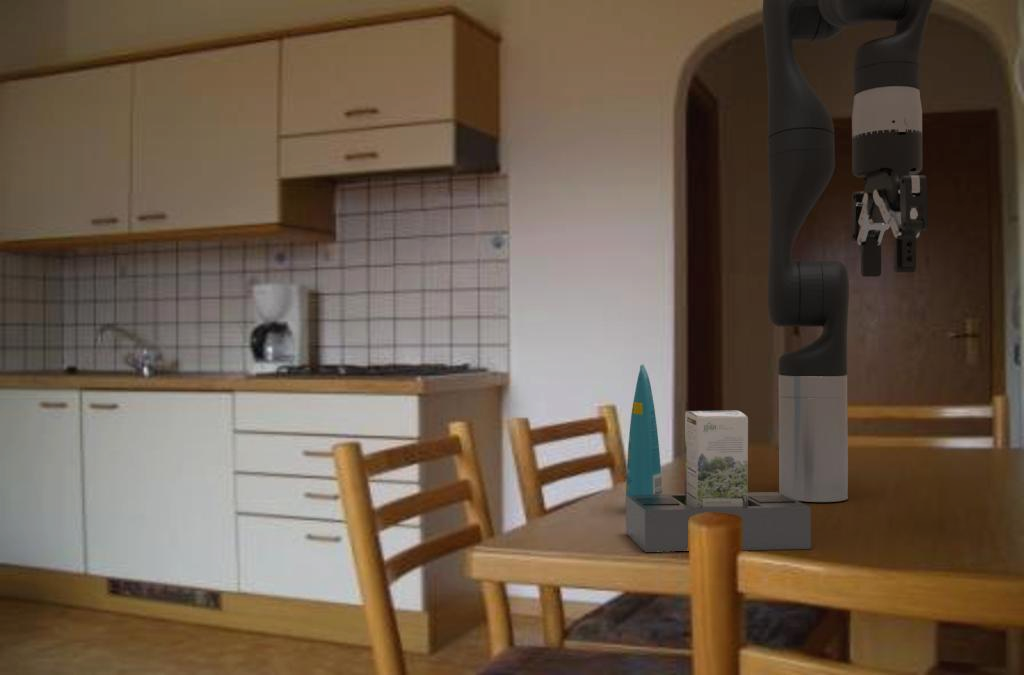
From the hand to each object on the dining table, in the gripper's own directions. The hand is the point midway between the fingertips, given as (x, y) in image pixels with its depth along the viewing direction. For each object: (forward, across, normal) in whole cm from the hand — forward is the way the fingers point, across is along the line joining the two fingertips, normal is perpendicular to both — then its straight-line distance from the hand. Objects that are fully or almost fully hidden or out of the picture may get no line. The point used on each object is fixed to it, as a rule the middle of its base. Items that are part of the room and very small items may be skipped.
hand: (887, 274), depth 112 cm
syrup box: (+30, +2, -21) cm, 36 cm away
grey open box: (+30, +2, -21) cm, 36 cm away
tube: (+30, -16, -25) cm, 42 cm away
